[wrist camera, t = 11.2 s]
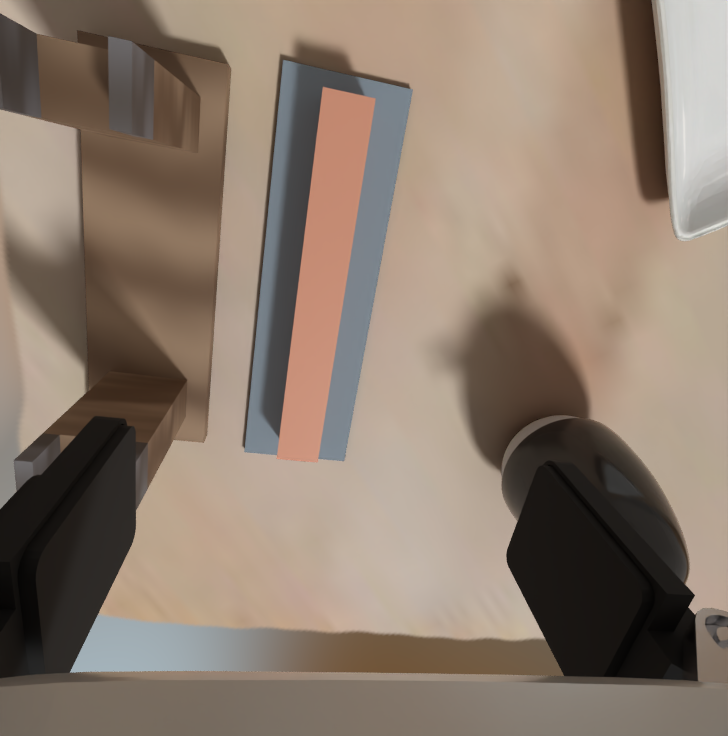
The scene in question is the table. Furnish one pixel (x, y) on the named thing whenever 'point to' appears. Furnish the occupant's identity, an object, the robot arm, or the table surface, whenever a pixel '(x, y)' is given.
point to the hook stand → (134, 227)
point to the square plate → (694, 111)
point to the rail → (324, 268)
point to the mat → (287, 244)
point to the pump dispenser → (597, 479)
